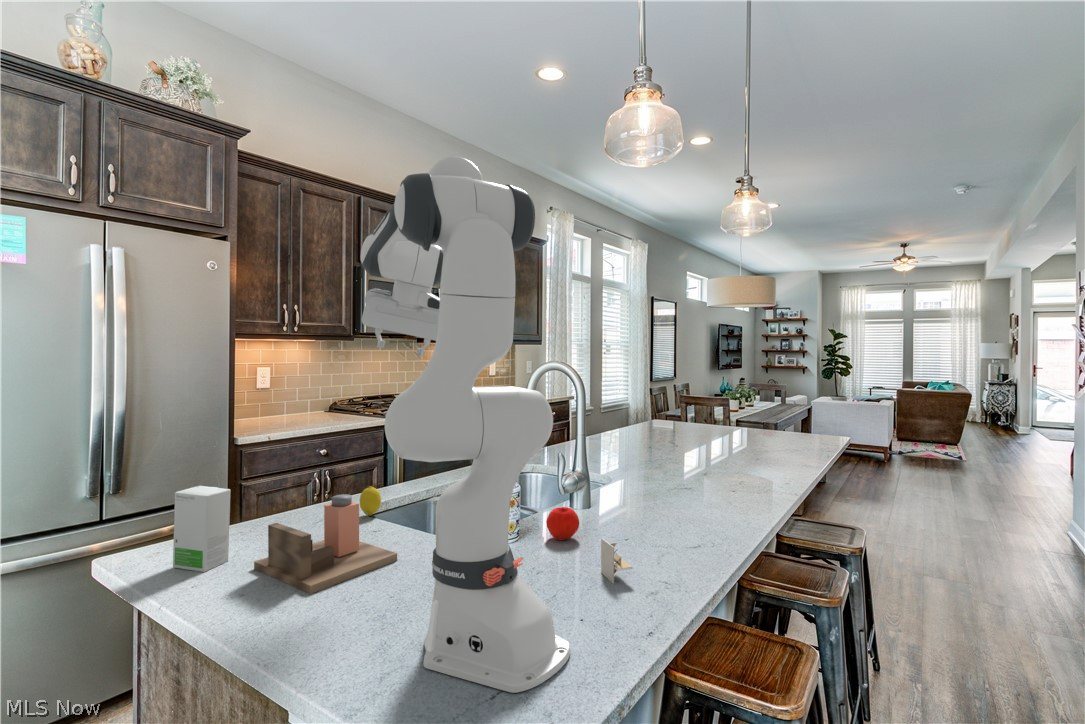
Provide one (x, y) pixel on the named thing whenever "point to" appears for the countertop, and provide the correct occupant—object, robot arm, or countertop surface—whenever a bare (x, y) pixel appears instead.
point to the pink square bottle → (341, 525)
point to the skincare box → (201, 528)
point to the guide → (315, 560)
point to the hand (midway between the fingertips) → (400, 351)
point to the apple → (562, 523)
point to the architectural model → (611, 560)
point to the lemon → (370, 500)
